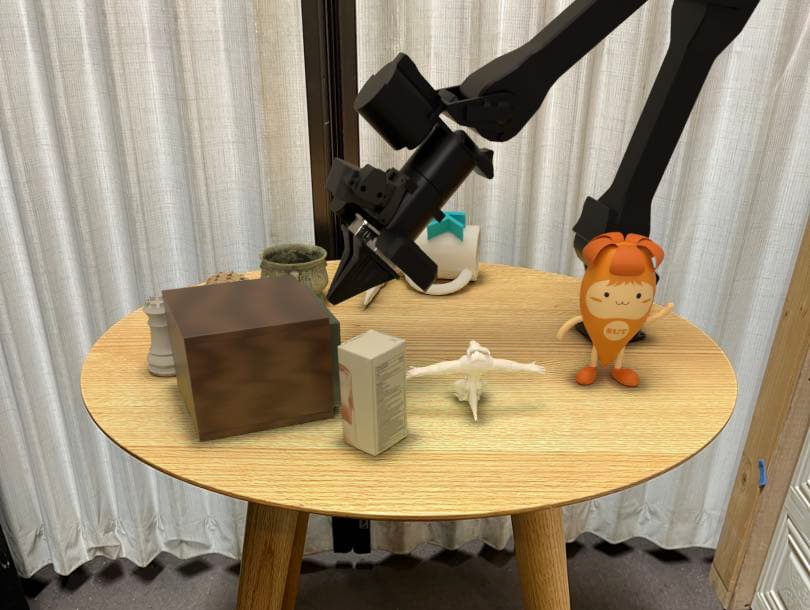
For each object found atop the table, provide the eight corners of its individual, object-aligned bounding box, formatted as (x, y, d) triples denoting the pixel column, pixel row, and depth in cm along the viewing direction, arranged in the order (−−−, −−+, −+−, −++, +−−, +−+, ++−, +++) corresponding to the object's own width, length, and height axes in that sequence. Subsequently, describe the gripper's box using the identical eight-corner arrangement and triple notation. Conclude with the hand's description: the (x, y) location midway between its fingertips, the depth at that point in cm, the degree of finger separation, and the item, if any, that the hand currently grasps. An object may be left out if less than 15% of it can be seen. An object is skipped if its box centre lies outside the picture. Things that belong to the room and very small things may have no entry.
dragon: (534, 374, 89) (549, 324, 82) (544, 429, 86) (561, 383, 79) (396, 379, 88) (399, 329, 81) (401, 436, 85) (405, 389, 78)
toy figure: (553, 388, 89) (571, 248, 80) (548, 357, 96) (565, 224, 87) (664, 393, 89) (694, 252, 80) (652, 361, 95) (679, 228, 86)
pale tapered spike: (374, 271, 119) (373, 258, 117) (392, 272, 118) (392, 259, 117) (354, 310, 107) (354, 296, 106) (374, 312, 106) (374, 297, 105)
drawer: (321, 358, 93) (316, 281, 87) (354, 403, 84) (352, 320, 79) (199, 377, 89) (186, 298, 83) (221, 426, 80) (209, 341, 75)
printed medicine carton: (374, 422, 83) (373, 327, 77) (408, 437, 81) (409, 339, 75) (339, 442, 80) (334, 344, 74) (373, 458, 77) (371, 358, 71)
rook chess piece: (153, 381, 90) (140, 310, 85) (144, 365, 93) (130, 295, 88) (194, 373, 92) (183, 303, 87) (183, 357, 95) (172, 289, 90)
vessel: (332, 316, 105) (330, 267, 101) (262, 319, 104) (257, 270, 100) (326, 283, 114) (324, 237, 111) (262, 286, 113) (257, 239, 110)
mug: (394, 197, 113) (481, 202, 111) (398, 251, 121) (480, 256, 119) (379, 257, 107) (471, 263, 105) (385, 309, 115) (470, 315, 113)
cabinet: (299, 367, 93) (292, 274, 87) (334, 417, 84) (329, 317, 77) (177, 386, 89) (161, 290, 82) (200, 441, 80) (183, 337, 73)
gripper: (342, 110, 87) (250, 229, 90) (409, 146, 73) (298, 285, 76) (410, 182, 94) (324, 290, 97) (483, 227, 80) (379, 351, 84)
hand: (329, 301), depth 89 cm, fingers closed
